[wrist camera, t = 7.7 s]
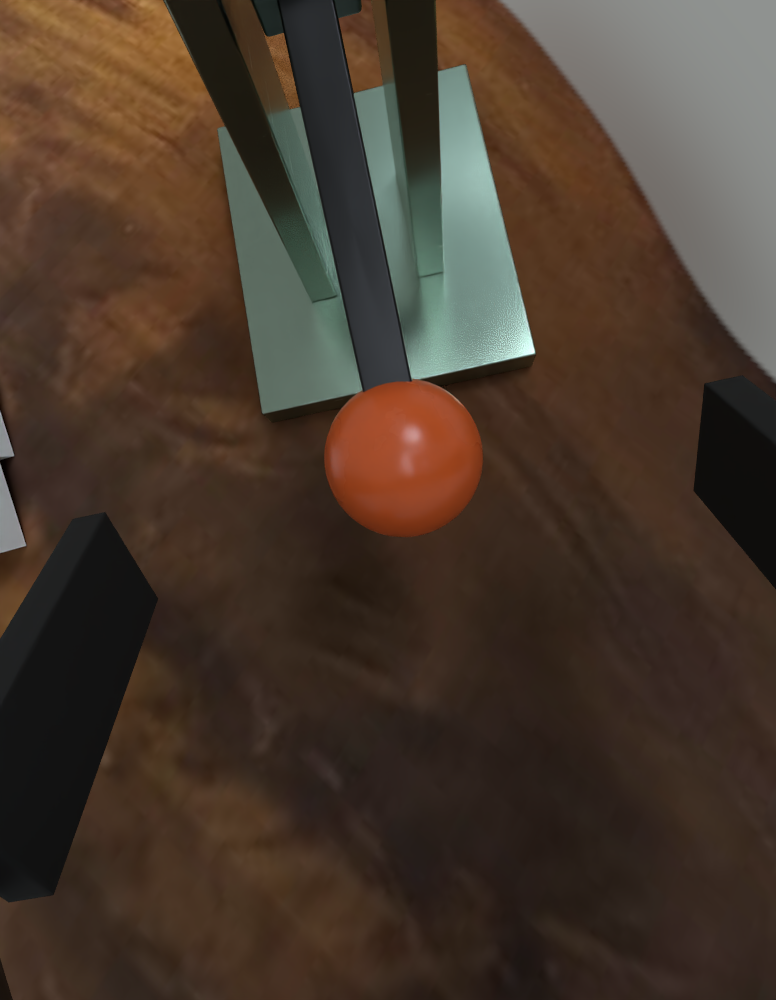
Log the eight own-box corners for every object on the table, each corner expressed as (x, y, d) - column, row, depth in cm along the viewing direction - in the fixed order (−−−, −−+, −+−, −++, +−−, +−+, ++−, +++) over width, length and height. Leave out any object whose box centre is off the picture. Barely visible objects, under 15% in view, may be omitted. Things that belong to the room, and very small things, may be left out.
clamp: (532, 366, 22) (653, 14, 9) (271, 423, 23) (9, 181, 9) (465, 88, 24) (479, -548, 11) (227, 149, 25) (-41, -374, 12)
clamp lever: (486, 503, 16) (507, 537, 12) (351, 530, 16) (334, 571, 13) (368, -120, 13) (353, -302, 10) (211, -74, 14) (141, -236, 10)
